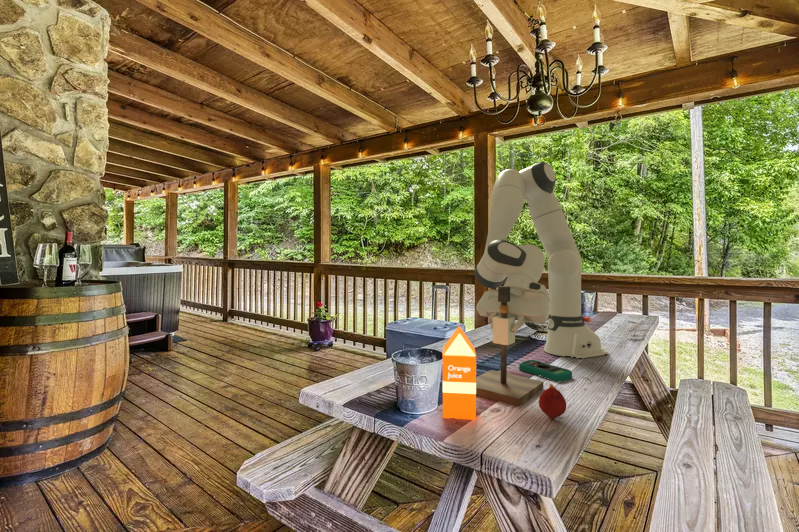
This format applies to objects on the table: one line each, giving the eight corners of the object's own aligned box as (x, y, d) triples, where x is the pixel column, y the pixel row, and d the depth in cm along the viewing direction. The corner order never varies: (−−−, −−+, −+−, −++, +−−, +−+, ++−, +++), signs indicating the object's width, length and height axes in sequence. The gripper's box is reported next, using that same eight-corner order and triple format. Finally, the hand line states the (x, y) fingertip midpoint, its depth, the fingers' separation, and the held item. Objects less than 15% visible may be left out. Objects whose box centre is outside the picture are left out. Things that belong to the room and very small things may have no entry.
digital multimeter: (531, 366, 126) (531, 358, 126) (573, 379, 114) (573, 369, 114) (517, 370, 122) (517, 361, 122) (558, 384, 110) (558, 374, 110)
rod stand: (490, 376, 115) (491, 283, 114) (543, 388, 105) (544, 286, 104) (463, 391, 103) (463, 287, 102) (519, 406, 93) (520, 291, 92)
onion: (569, 418, 86) (570, 384, 86) (560, 427, 82) (561, 391, 82) (544, 411, 90) (544, 378, 90) (534, 419, 86) (534, 384, 86)
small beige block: (500, 339, 107) (500, 315, 106) (514, 342, 104) (515, 317, 104) (492, 342, 103) (492, 317, 103) (507, 345, 101) (507, 319, 100)
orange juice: (442, 418, 87) (442, 332, 86) (443, 402, 96) (443, 324, 95) (476, 420, 86) (476, 332, 85) (474, 404, 94) (474, 325, 94)
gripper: (482, 282, 115) (465, 318, 108) (550, 286, 102) (536, 327, 95) (489, 295, 119) (473, 331, 112) (556, 300, 105) (542, 342, 98)
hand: (503, 329), depth 103 cm, fingers open, 4 cm apart
